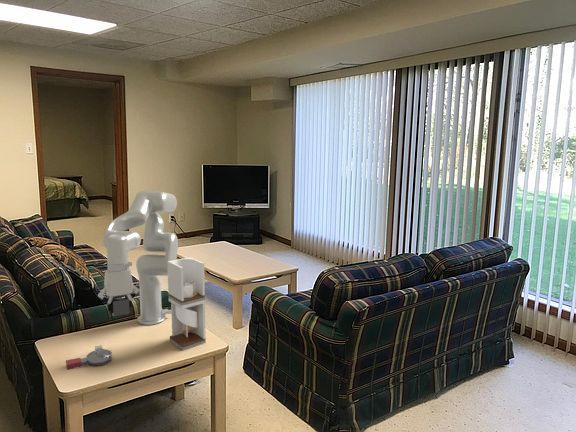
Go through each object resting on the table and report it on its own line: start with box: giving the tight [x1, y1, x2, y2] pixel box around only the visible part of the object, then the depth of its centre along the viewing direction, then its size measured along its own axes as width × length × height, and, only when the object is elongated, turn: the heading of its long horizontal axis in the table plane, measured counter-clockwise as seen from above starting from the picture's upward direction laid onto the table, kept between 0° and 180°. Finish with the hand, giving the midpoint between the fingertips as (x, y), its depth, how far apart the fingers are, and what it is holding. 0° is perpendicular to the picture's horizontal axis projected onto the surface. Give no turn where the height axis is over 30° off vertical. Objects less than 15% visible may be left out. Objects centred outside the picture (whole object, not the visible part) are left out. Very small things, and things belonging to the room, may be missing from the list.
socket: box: [111, 295, 131, 317], centre depth 180 cm, size 6×6×7 cm
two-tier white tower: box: [167, 256, 207, 351], centre depth 191 cm, size 11×11×35 cm
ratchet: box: [65, 344, 113, 371], centre depth 175 cm, size 16×9×6 cm, turn 120°
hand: (119, 310), depth 180 cm, fingers closed on socket, 6 cm apart
